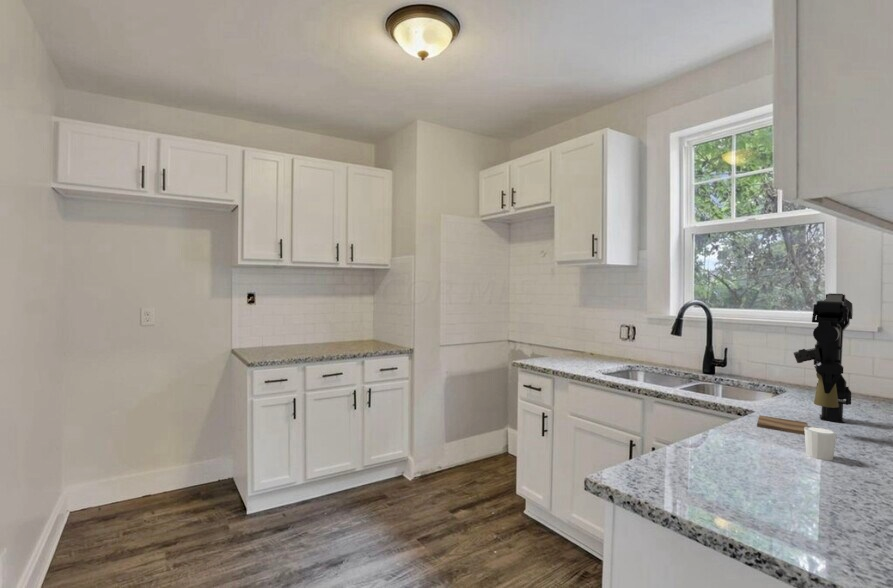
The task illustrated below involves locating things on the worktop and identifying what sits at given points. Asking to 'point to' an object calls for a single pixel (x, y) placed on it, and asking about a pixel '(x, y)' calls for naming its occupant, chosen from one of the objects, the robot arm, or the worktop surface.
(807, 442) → the white faceted cup
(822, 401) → the cork
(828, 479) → the worktop surface
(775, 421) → the walnut coaster board
